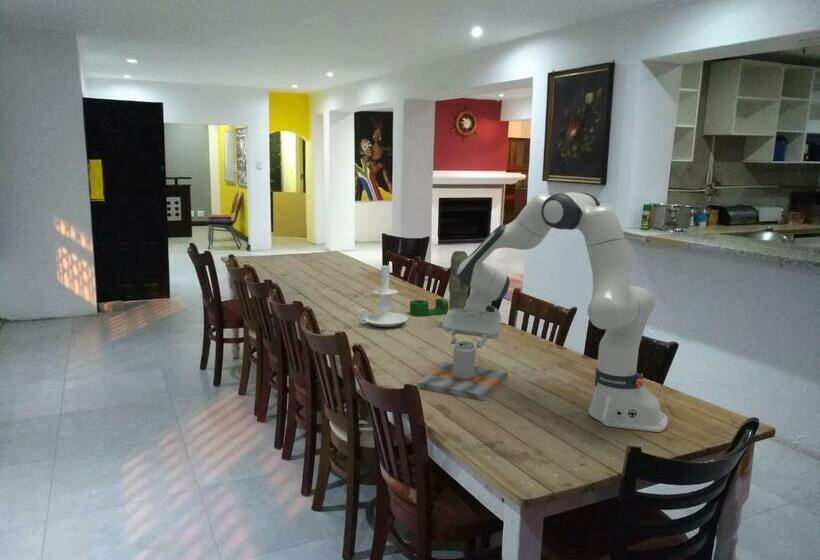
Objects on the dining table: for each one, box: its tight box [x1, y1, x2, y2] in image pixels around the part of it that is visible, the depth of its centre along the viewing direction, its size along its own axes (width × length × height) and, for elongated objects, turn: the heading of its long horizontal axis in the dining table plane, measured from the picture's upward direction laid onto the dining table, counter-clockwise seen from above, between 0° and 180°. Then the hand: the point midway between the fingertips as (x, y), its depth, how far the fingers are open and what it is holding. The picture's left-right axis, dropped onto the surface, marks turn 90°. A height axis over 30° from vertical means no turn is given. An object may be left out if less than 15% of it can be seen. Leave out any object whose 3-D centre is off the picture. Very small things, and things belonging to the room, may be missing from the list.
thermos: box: [448, 250, 470, 310], centre depth 275 cm, size 9×12×35 cm
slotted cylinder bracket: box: [409, 298, 449, 318], centre depth 304 cm, size 18×9×6 cm, turn 113°
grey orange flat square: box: [416, 361, 509, 402], centre depth 212 cm, size 24×24×2 cm
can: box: [452, 340, 477, 380], centre depth 211 cm, size 8×8×12 cm
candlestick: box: [356, 264, 409, 328], centre depth 280 cm, size 21×25×28 cm
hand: (465, 345), depth 211 cm, fingers open, 8 cm apart
